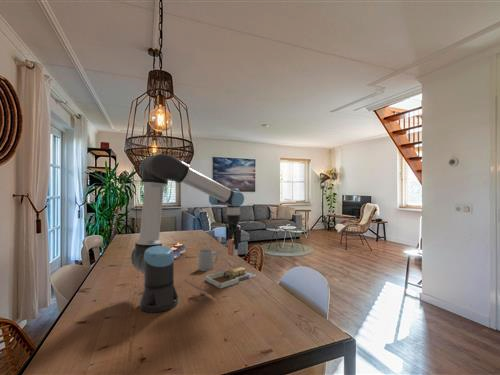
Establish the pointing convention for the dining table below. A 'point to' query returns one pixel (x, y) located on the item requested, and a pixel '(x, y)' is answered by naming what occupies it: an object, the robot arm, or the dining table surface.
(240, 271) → the chip
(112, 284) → the dining table surface
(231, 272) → the chip
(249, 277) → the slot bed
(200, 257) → the mug
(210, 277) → the tray
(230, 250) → the salmon pink flat-faced block
